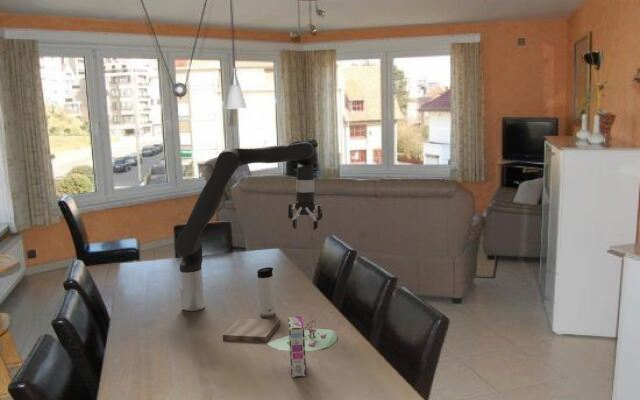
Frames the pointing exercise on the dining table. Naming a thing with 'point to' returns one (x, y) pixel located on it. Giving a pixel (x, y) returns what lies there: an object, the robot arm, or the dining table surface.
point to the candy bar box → (297, 346)
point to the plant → (309, 339)
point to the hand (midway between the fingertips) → (305, 229)
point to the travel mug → (266, 292)
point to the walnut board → (251, 330)
